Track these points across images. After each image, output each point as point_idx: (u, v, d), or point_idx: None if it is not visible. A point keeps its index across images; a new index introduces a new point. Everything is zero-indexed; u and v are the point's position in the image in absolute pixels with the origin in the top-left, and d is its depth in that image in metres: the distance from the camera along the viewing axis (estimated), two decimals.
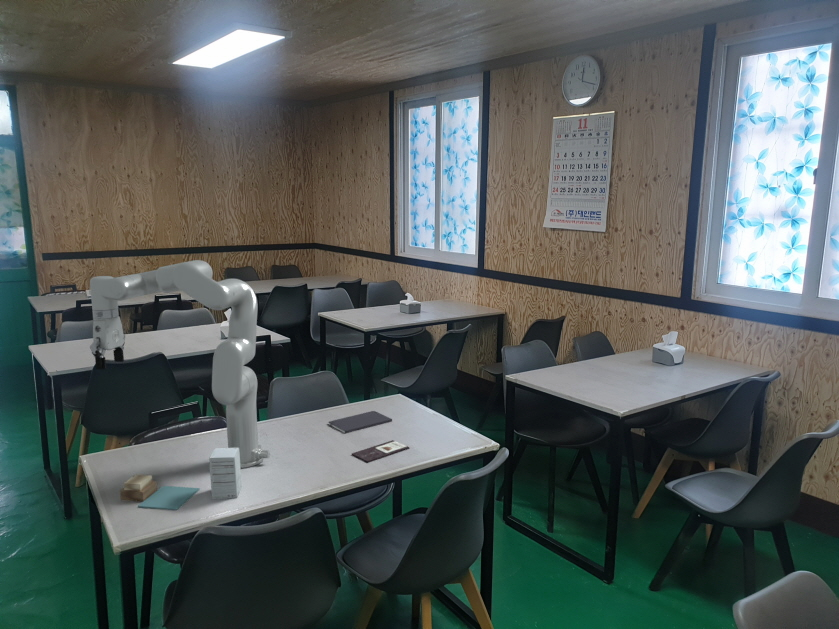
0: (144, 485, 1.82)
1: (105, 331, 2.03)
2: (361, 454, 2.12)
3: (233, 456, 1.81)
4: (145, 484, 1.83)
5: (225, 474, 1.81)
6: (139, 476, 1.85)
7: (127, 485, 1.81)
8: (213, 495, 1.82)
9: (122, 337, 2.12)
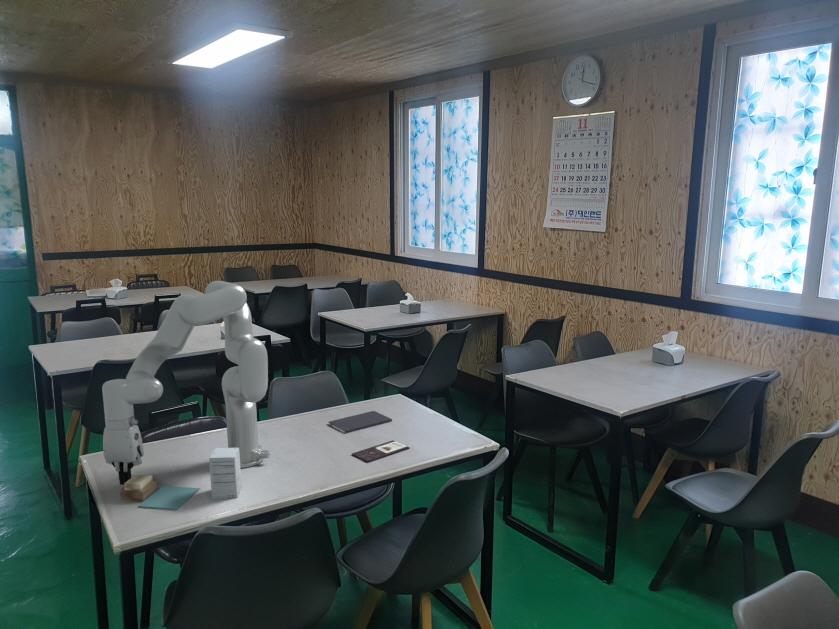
0: (144, 485, 1.82)
1: None
2: (361, 454, 2.12)
3: (233, 456, 1.81)
4: (145, 484, 1.83)
5: (225, 474, 1.81)
6: (140, 476, 1.85)
7: (127, 485, 1.81)
8: (213, 495, 1.82)
9: None
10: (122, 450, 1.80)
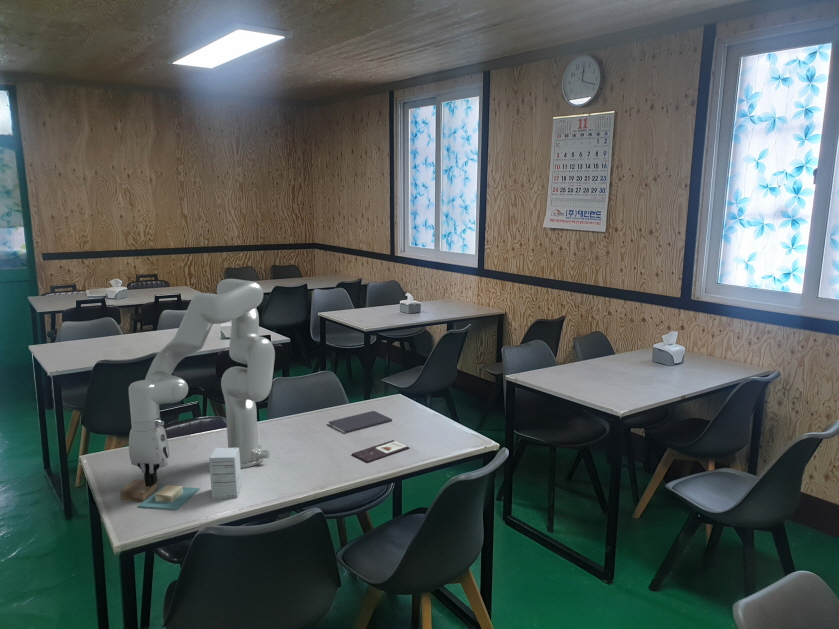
0: None
1: None
2: (361, 454, 2.12)
3: (233, 456, 1.81)
4: None
5: (225, 474, 1.81)
6: None
7: (168, 500, 1.79)
8: (213, 495, 1.82)
9: None
10: (148, 452, 1.79)
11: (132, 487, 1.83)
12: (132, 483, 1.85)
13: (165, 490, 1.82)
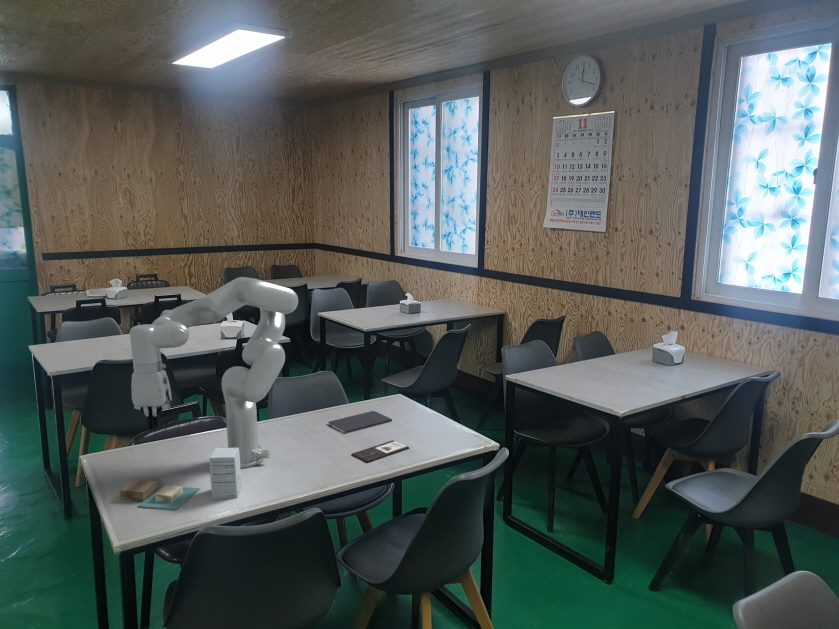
0: None
1: None
2: (361, 454, 2.12)
3: (233, 456, 1.81)
4: None
5: (225, 474, 1.81)
6: None
7: (168, 500, 1.79)
8: (213, 495, 1.82)
9: None
10: (151, 395, 1.82)
11: (132, 487, 1.83)
12: (132, 483, 1.85)
13: (165, 490, 1.82)
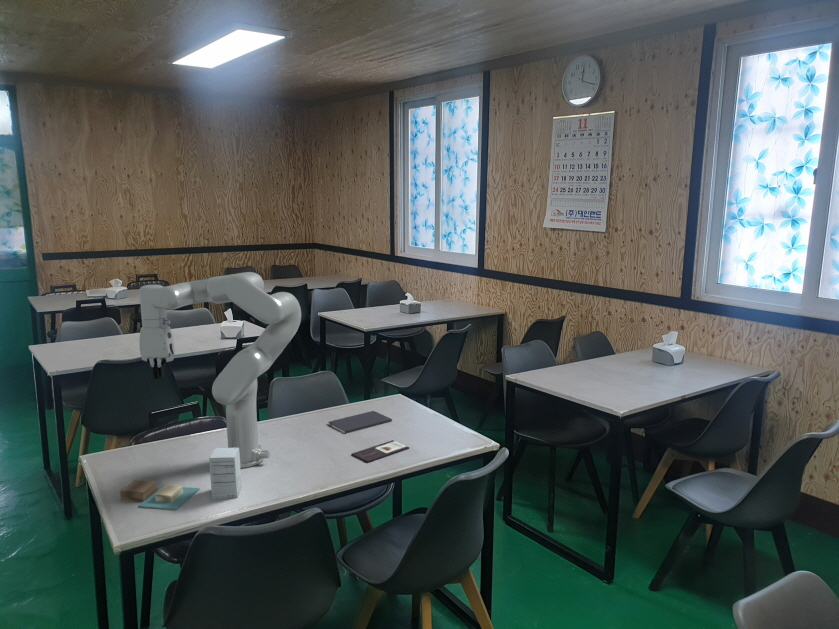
0: None
1: None
2: (361, 454, 2.12)
3: (233, 456, 1.81)
4: None
5: (225, 474, 1.81)
6: None
7: (168, 500, 1.79)
8: (213, 495, 1.82)
9: None
10: (156, 347, 2.04)
11: (132, 487, 1.83)
12: (132, 483, 1.85)
13: (165, 490, 1.82)
